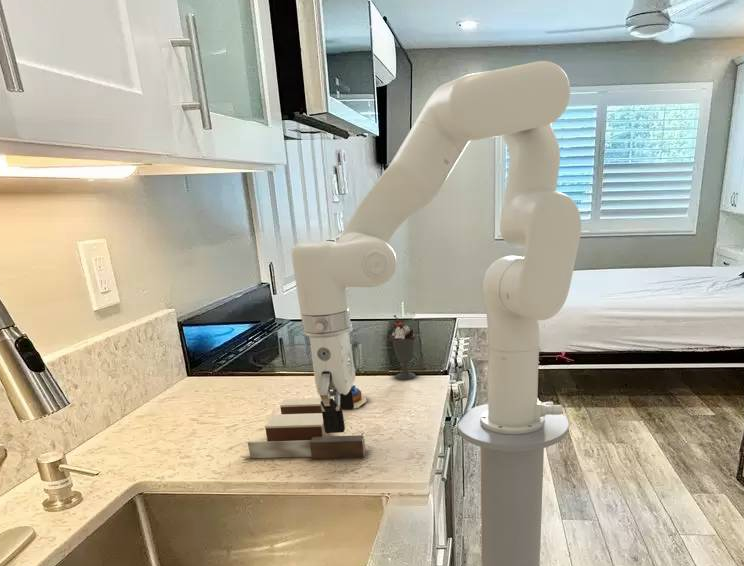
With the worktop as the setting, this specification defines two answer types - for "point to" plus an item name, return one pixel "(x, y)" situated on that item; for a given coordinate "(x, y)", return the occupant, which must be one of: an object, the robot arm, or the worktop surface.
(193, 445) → the worktop surface
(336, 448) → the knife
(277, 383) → the worktop surface
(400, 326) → the sundae
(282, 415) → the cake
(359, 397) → the dessert
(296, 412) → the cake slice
